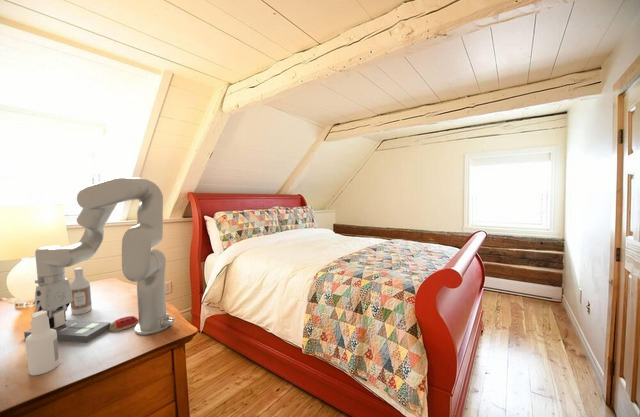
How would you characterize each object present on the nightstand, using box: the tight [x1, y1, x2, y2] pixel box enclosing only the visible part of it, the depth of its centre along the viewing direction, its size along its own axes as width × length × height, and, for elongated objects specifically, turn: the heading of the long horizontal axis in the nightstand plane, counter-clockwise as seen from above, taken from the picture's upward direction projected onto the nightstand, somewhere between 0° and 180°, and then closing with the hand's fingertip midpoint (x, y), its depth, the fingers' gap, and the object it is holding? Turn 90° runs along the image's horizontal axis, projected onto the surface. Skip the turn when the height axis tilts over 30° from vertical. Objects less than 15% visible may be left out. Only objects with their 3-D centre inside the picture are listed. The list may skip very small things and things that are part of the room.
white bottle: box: [24, 310, 60, 376], centre depth 85 cm, size 7×7×18 cm
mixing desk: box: [23, 319, 112, 344], centre depth 106 cm, size 26×10×3 cm, turn 84°
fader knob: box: [47, 308, 66, 328], centre depth 106 cm, size 4×4×6 cm
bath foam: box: [70, 267, 93, 315], centre depth 123 cm, size 7×7×20 cm
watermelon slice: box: [108, 315, 139, 332], centre depth 111 cm, size 7×10×4 cm
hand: (55, 324), depth 106 cm, fingers closed on fader knob, 3 cm apart
